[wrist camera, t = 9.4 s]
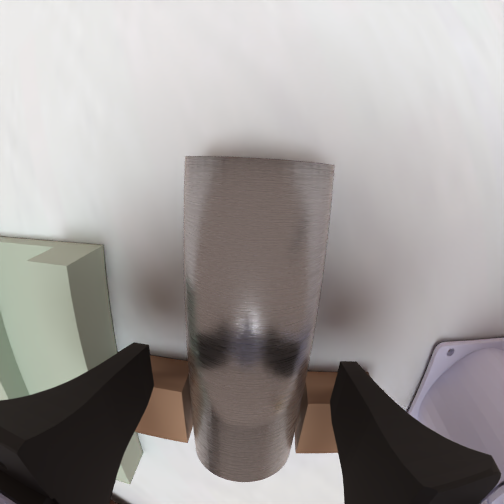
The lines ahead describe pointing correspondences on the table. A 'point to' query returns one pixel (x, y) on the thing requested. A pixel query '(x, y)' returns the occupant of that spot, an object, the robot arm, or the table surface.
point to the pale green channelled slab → (55, 320)
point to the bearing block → (180, 410)
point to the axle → (251, 303)
